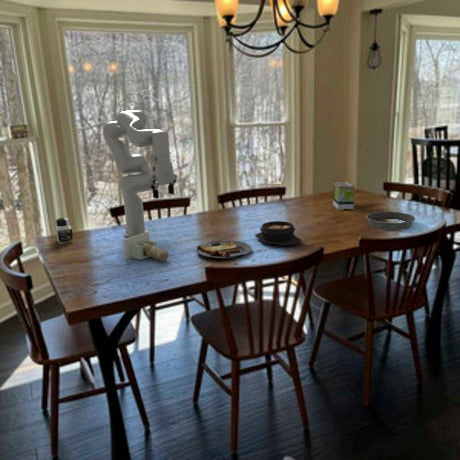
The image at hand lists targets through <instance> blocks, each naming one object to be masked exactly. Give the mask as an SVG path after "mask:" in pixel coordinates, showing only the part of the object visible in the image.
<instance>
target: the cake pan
mask: <svg viewBox="0 0 460 460" xmlns="http://www.w3.org/2000/svg"><path fill="white" fill-rule="evenodd" d="M365 219H367V222H368V225H369V224H370V225H371V226H370V225H369V226H370V227H372V226H374V227H377V228H376V229H378V228H381V229H380V230H384V229H390V230H389V231H402V230H401V229H404V230H408V229H410V228H411V227H412V225H413V222H414V221H415V220H416V217H415V216H414V215H411V214H409V213H406V212H405V213H404V212H401V211H375V212H371V213H368V214H366V216H365ZM375 219H398V220H402V221H405V222H402V223H390V222H388V221H387V222H385V221H379V220H375ZM374 220H375V221H374ZM374 227H373V228H374Z"/></svg>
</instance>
